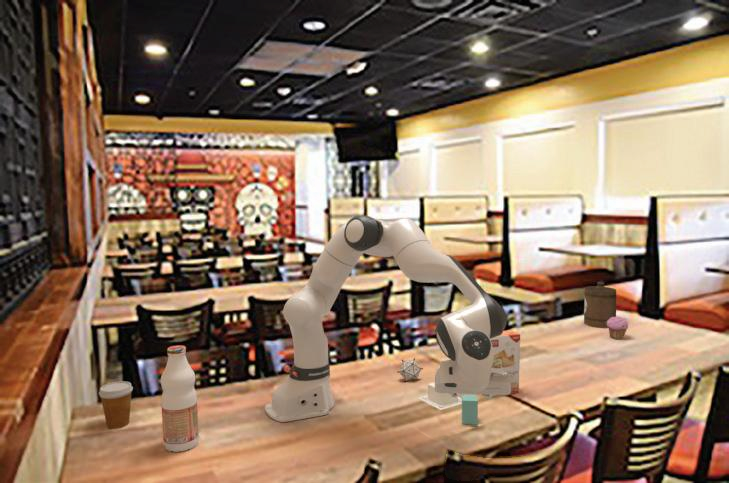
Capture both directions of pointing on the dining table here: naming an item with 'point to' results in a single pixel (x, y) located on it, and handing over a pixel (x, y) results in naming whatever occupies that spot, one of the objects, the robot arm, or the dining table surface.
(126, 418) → the disposable coffee cup
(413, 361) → the game die
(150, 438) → the dining table surface
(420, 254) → the robot arm
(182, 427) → the fruit juice
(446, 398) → the cream brick
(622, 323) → the cupcake
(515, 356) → the cracker box
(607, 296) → the wooden container
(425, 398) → the baseplate
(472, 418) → the teal brick
